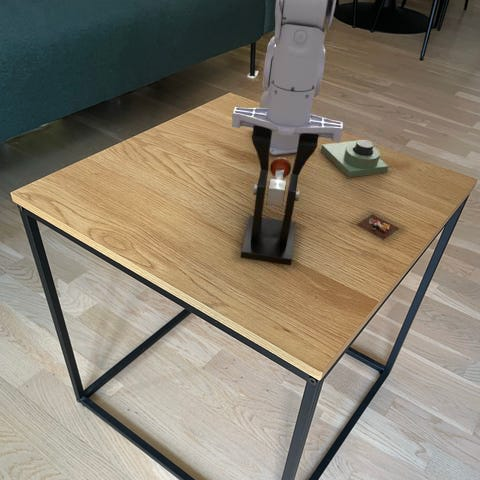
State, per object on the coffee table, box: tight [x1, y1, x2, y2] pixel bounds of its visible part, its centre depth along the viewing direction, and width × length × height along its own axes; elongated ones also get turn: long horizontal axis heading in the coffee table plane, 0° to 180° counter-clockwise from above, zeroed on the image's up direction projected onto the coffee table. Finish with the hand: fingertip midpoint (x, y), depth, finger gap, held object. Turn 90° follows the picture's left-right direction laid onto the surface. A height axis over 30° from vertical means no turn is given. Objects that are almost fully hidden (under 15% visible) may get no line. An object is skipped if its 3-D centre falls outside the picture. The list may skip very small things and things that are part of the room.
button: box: [354, 139, 375, 156], centre depth 86 cm, size 3×3×2 cm
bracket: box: [240, 169, 301, 266], centre depth 67 cm, size 9×7×10 cm
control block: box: [320, 140, 389, 178], centre depth 89 cm, size 10×8×3 cm
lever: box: [265, 156, 292, 208], centre depth 68 cm, size 11×3×3 cm, turn 172°
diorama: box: [356, 213, 400, 241], centre depth 75 cm, size 3×4×2 cm
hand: (278, 180), depth 72 cm, fingers open, 3 cm apart
